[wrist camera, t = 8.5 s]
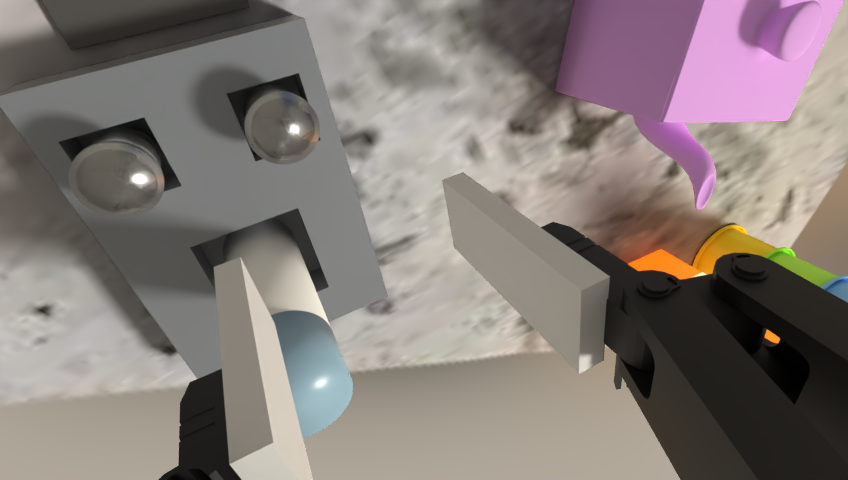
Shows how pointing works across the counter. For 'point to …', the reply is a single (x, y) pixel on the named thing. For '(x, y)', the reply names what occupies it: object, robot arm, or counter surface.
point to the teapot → (693, 65)
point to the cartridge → (295, 321)
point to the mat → (127, 16)
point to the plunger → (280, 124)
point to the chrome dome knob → (118, 173)
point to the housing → (207, 172)
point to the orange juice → (676, 272)
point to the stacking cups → (740, 242)
